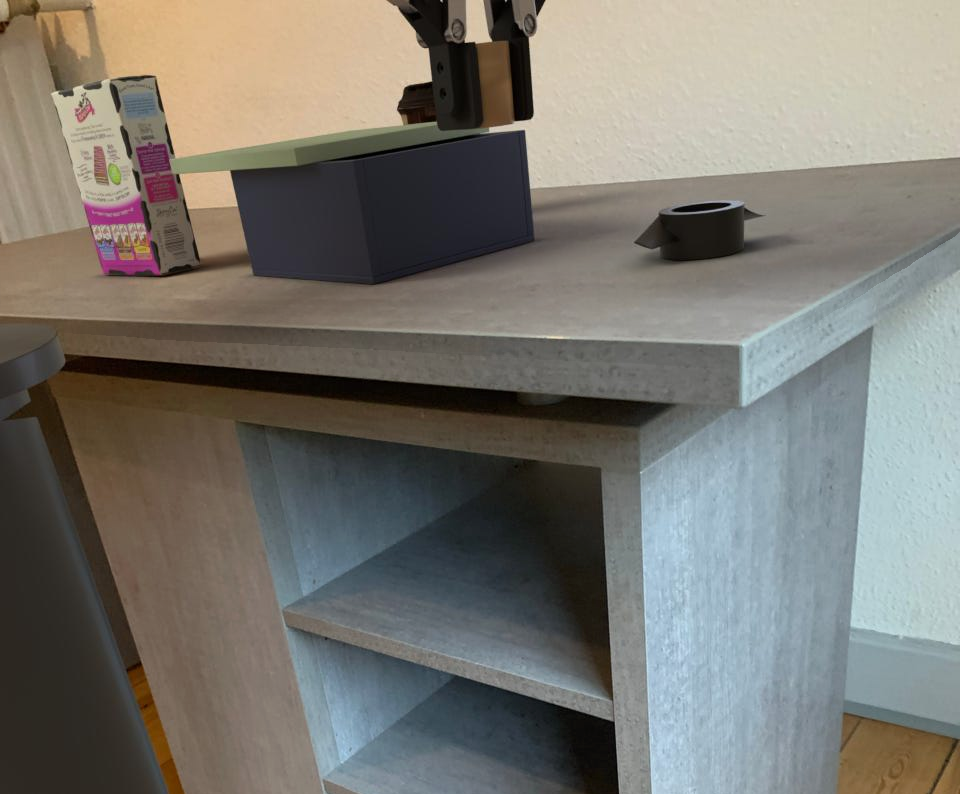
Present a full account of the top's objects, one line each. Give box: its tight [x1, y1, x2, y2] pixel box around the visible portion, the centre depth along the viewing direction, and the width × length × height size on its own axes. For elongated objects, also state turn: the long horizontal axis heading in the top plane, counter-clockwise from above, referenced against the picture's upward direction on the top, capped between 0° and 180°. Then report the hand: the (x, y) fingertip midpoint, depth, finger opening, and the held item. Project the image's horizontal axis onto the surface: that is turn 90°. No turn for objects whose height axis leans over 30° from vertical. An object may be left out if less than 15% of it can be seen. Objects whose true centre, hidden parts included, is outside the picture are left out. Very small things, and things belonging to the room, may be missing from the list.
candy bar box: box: [50, 74, 202, 277], centre depth 93 cm, size 11×5×16 cm, turn 49°
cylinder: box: [463, 41, 516, 130], centre depth 54 cm, size 3×3×4 cm
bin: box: [229, 129, 536, 285], centre depth 83 cm, size 18×18×8 cm
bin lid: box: [169, 122, 490, 175], centre depth 85 cm, size 20×20×1 cm
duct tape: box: [633, 199, 767, 261], centre depth 68 cm, size 8×10×3 cm
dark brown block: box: [396, 80, 437, 125], centre depth 100 cm, size 9×8×13 cm
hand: (485, 121), depth 55 cm, fingers closed on cylinder, 3 cm apart
